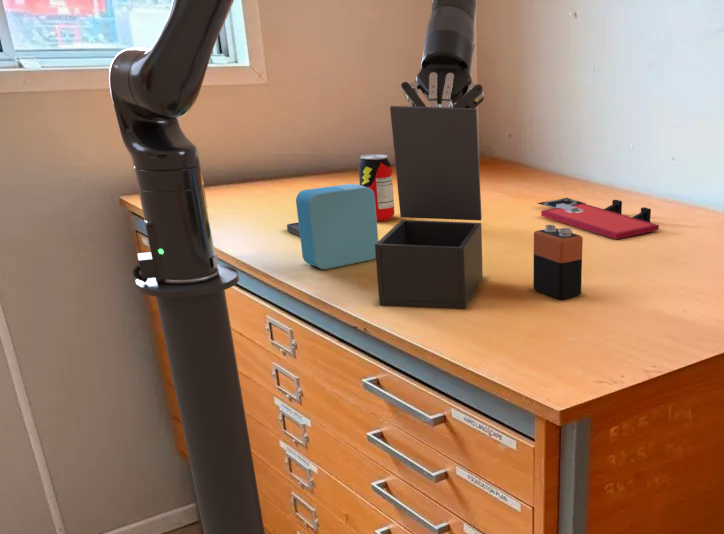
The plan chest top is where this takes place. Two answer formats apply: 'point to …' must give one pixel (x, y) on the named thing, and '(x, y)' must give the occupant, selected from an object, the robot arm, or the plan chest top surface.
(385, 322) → the plan chest top surface
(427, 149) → the lid
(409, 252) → the chest
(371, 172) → the beverage can
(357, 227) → the data package
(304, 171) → the plan chest top surface
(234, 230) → the plan chest top surface
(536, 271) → the battery
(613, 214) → the red board with handle
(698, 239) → the plan chest top surface
